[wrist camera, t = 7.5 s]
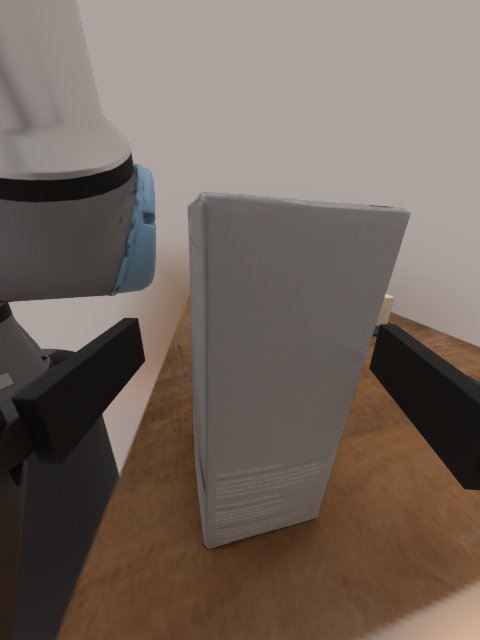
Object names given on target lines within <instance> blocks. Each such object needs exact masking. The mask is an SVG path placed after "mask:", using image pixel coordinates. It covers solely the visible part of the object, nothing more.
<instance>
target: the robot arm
mask: <svg viewBox="0 0 480 640" xmlns="http://www.w3.org/2000/svg"><path fill="white" fill-rule="evenodd" d="M154 221H155V192H154V182H153V177H152V173H151V171H150V170H149V169H147V168H145V167H142V166H141V165H140V164H135V165H134V166H133V160H132V154H131V148H130V143H129V141H128V139H127V138H126V137H125V136H124V135H123V134H122V133H121V132H120V131H119V130H118V129H117V128H116V127H115V126H114V125H113V124H112V123H111V122H110V121H109V120H108V119H107V118H106V117H105V116H104V114H103V112H102V110H101V106H100V102H99V98H98V93H97V89H96V84H95V80H94V75H93V71H92V66H91V62H90V57H89V53H88V48H87V44H86V39H85V35H84V30H83V26H82V22H81V17H80V13H79V8H78V4H77V0H0V640H12V636H13V625H14V614H15V604H16V593H17V582H18V572H19V561H20V550H21V539H22V529H23V518H24V507H25V497H26V486H27V475H28V465H27V462H26V460H25V459H26V458H27V457H28V456H29V455H30V454H31V453H32V452H33V451H34V450H35V453H36V455H37V457H38V459H39V461H40V463H55V464H61V463H62V462H63V461H64V460H65V459H66V457H67V456H68V455H69V454H70V452H71V451H72V450H73V449H74V448H75V446H76V445H77V444H78V443H79V441H80V440H81V439H82V438H83V437H84V435H85V434H86V433H87V432H88V430H89V429H90V428H91V427H92V425H93V424H94V423H95V422H96V421H97V419H98V418H99V417H100V416H101V414H102V413H103V412H104V411H105V410H106V408H107V407H108V406H109V404H110V403H111V402H112V401H113V400H114V399H115V397H116V396H117V395H118V394H119V392H120V391H121V390H122V389H123V387H124V386H125V385H126V384H127V383H128V381H129V380H130V379H131V378H132V376H133V375H134V374H135V373H136V371H137V370H138V369H139V368H140V366H141V365H142V364H143V363H144V362H145V356H144V350H143V344H142V339H141V333H140V328H139V321H138V318H124V319H122V320H121V321H120V322H118V323H117V324H116V325H114V326H113V327H111V328H110V329H108V330H107V331H105V332H104V333H103V334H101V335H100V336H98V337H97V338H96V339H94V340H93V341H91V342H90V343H89V344H87V345H86V346H84V347H83V348H81V349H80V350H79V351H77V352H76V353H74V354H73V355H72V356H70V357H69V358H67V359H66V360H64V361H63V362H61V363H59V364H57V365H55V366H54V365H53V362H52V360H51V358H50V357H49V356H48V355H47V354H46V353H45V352H44V351H42V350H41V348H40V347H39V346H38V345H37V343H36V342H35V341H34V340H33V339H32V338H31V337H30V336H29V334H28V333H27V332H26V331H25V330H24V329H23V328H22V327H21V326H20V325H19V324H18V323H17V321H16V320H15V318H14V316H13V314H12V311H11V309H10V306H9V304H8V302H13V301H27V300H44V299H59V298H74V297H88V296H105V295H109V296H114V295H116V294H118V293H125V292H133V291H140V290H143V289H145V288H146V287H148V286H149V285H150V284H151V283H152V281H153V278H154V274H155V260H156V226H155V222H154ZM369 369H370V370H371V371H372V372H373V374H374V375H375V376H376V378H377V379H378V380H379V381H380V383H381V384H382V385H383V386H384V388H385V389H386V390H387V392H388V393H389V394H390V395H391V397H392V398H393V399H394V400H395V402H396V403H397V404H398V405H399V407H400V408H401V409H402V411H403V412H404V413H405V414H406V416H407V417H408V418H409V419H410V421H411V422H412V423H413V425H414V426H415V427H416V428H417V430H418V431H419V432H420V433H421V435H422V436H423V437H424V439H425V440H426V441H427V442H428V444H429V445H430V446H431V447H432V449H433V450H434V451H435V452H436V454H437V455H438V456H439V458H440V459H441V460H442V461H443V463H444V464H445V465H446V466H447V468H448V469H449V470H450V472H451V473H452V474H453V475H454V477H455V478H456V479H457V480H458V482H459V483H460V484H461V485H462V487H463V488H464V489H469V490H480V381H478V380H476V379H474V378H472V377H470V376H467V375H465V374H464V373H462V372H461V371H460V370H458V369H457V368H455V367H454V366H453V365H451V364H450V363H448V362H447V361H446V360H444V359H443V358H441V357H440V356H439V355H437V354H436V353H434V352H433V351H432V350H430V349H429V348H427V347H426V346H425V345H423V344H422V343H420V342H419V341H418V340H416V339H415V338H413V337H412V336H411V335H409V334H408V333H407V332H405V331H404V330H402V329H401V328H400V327H398V326H397V325H395V324H380V327H379V331H378V335H377V339H376V343H375V348H374V352H373V356H372V360H371V364H370V368H369Z"/></svg>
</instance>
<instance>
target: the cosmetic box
mask: <svg viewBox="0 0 480 640" xmlns="http://www.w3.org/2000/svg"><path fill="white" fill-rule="evenodd" d="M410 214H411V212H409V210H408V209H406V208H399V207H387V206H374V205H361V204H348V203H335V202H322V201H309V200H298V199H287V198H276V197H264V196H254V195H243V194H228V193H210V192H203V193H200V194H199V196H198V197H197V198H196V199H195V200H194V201H193V202H192V203H191V204H190V205H188V226H189V254H190V285H191V286H190V288H191V331H192V385H193V428H194V451H195V466H196V478H197V489H198V498H199V507H200V515H201V523H202V530H203V539H204V544H205V546H206V547H207V548H210V549H211V548H215V547H218V546H221V545H224V544H228V543H231V542H234V541H238V540H241V539H244V538H248V537H251V536H255V535H258V534H262V533H265V532H269V531H272V530H276V529H280V528H283V527H288V526H290V525H294V524H297V523H301V522H304V521H307V520H311V519H314V518H316V517H317V516H318V513H319V510H320V507H321V503H322V499H323V496H324V494H325V490H326V487H327V484H328V481H329V477H330V474H331V471H332V467H333V464H334V461H335V457H336V454H337V451H338V447H339V444H340V441H341V438H342V434H343V431H344V428H345V424H346V421H347V418H348V415H349V411H350V408H351V405H352V402H353V399H354V395H355V392H356V388H357V385H358V381H359V378H360V374H361V371H362V368H363V365H364V361H365V358H366V355H367V351H368V348H369V345H370V342H371V339H372V336H373V333H374V330H375V326H376V323H377V320H378V316H379V313H380V310H381V307H382V304H383V301H384V298H385V294H386V291H387V288H388V285H389V282H390V278H391V275H392V272H393V268H394V265H395V262H396V259H397V256H398V253H399V249H400V246H401V243H402V239H403V236H404V233H405V230H406V227H407V224H408V221H409V217H410Z"/></svg>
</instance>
